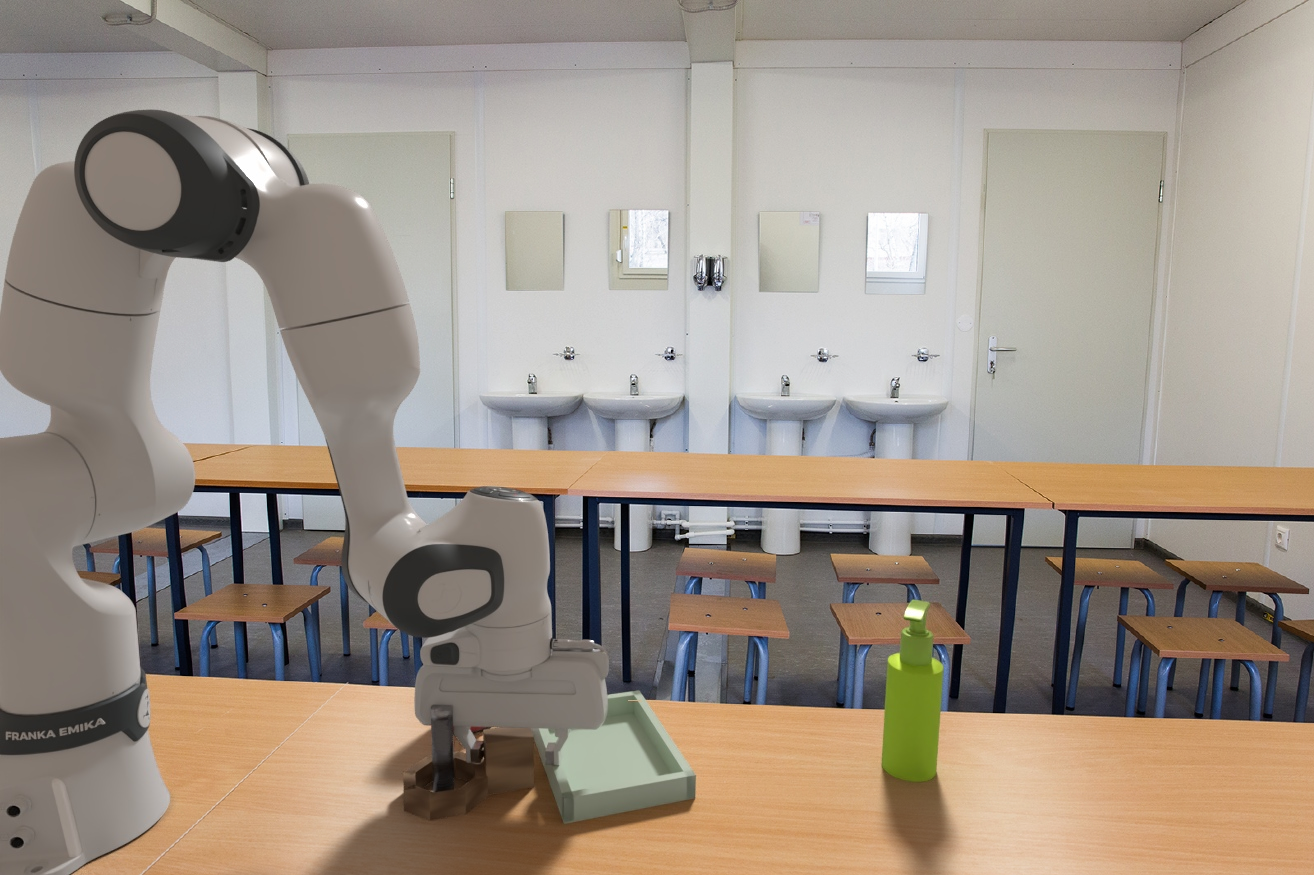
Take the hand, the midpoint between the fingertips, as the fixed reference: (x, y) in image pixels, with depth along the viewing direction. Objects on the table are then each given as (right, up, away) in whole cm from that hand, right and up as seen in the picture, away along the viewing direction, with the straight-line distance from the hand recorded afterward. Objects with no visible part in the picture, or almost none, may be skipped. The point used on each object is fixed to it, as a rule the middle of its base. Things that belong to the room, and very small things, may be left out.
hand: (514, 761), depth 84 cm
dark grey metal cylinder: (-7, -3, -1) cm, 8 cm away
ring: (-5, -3, 0) cm, 6 cm away
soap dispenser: (+43, -3, +4) cm, 44 cm away
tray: (+9, -2, +5) cm, 11 cm away
